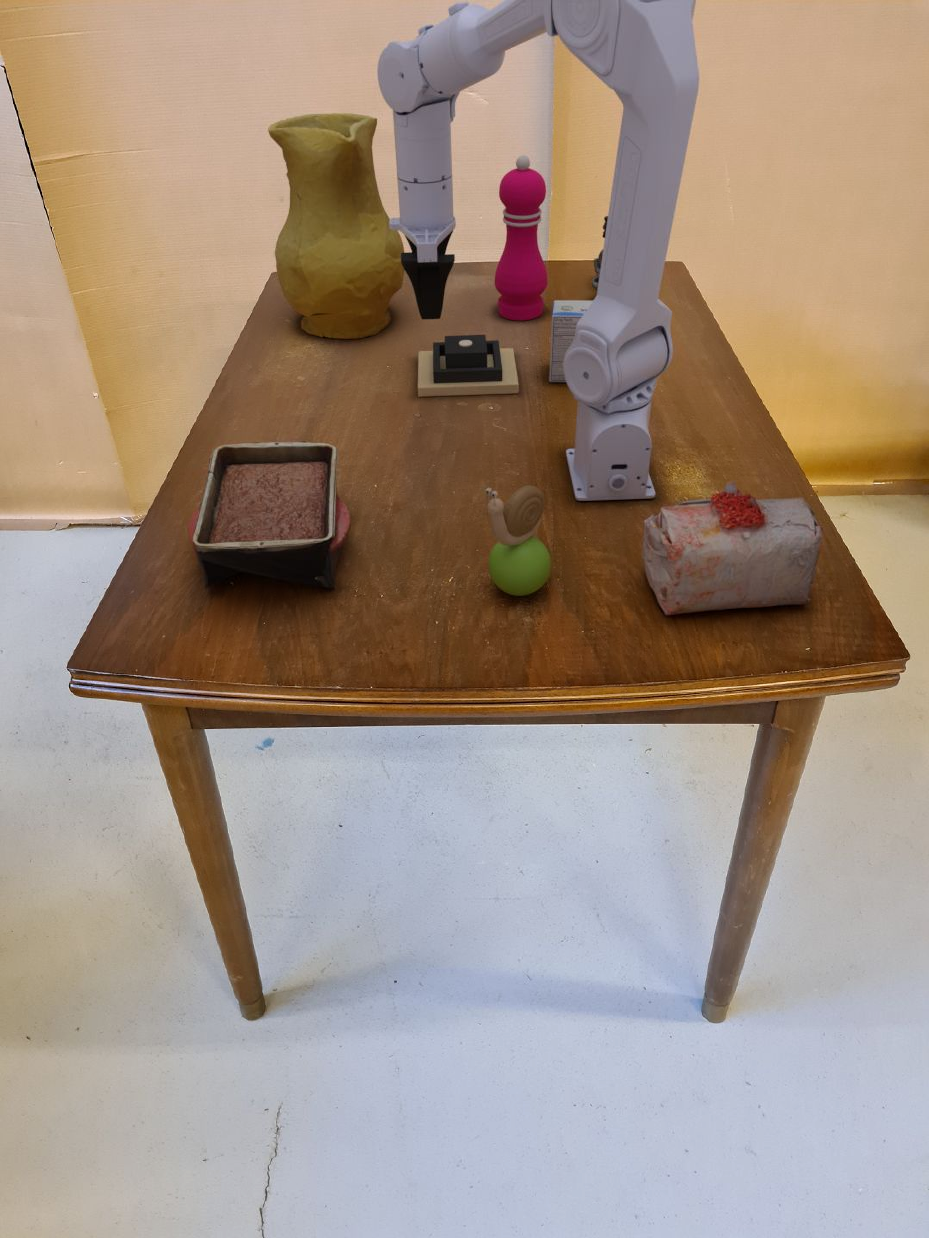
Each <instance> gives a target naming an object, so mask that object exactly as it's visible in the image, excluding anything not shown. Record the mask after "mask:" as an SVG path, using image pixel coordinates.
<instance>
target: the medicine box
mask: <svg viewBox="0 0 929 1238" xmlns="http://www.w3.org/2000/svg"><path fill="white" fill-rule="evenodd" d="M592 302H593V300H579V299H577V300H575V299H573V300H571V299H570V300H569V299H568V300H567V299H566V300H565V299H564V300H563V299H562V300H561V299H560V300H559V299H556V300H553V301H552V309H551V321H550V323H551V324H550V345H549V347H550V349H549V374H548V375H549V376H548V381H549V383H566V380H565V376H564V371H563V362H564V357H565V354H566V352H567V350H568V348H569V347H570V346H571V344H572V342H573V340H574V337H575V332H576V325H577V323H578V322H579V320H580V319H581V317H582V316H583V314H584V313H585V312H586V310H587V309H588V307H589V306H590V305H591V303H592Z"/></svg>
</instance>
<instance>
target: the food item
mask: <svg viewBox="0 0 929 1238" xmlns="http://www.w3.org/2000/svg"><path fill="white" fill-rule="evenodd" d="M643 521H644V528H643V529H644V532H643V540H642V551H641V558H642V560H643V567H644V571H645V575H646V578H647V582H648V584H649V587H650V588H651V589H652V591H653V593H654V595H655V597H656V600H657V603H658V604H659V606H660V608H661V609H662V611H663V613H664V614H665V616H675V615H680V614H691V613H699V612H708V611H722V610H723V611H724V610H728V609H729V610H730V609H731V610H733V609H753V608H766V607H775V606H791V605H805V604H807V605H809V603H810V602H811V600H812V599H811V598H810V592H811V589H812V588H813V585H814V582H815V577H816V574H817V568H816V566H817V565H818V562H819V558H820V555H821V550H820V547H821V540H822V536H823V530H824V528H823V527H822V526H821V525H820V524H819V523H818V520H817V519H816V515H815V512H814V510H813V509H812V508H811V506H810V505H809V503H808V502H807V501H806V500H805V499H804V497H801V496H800V497H788V498H764V499H756V496H751V493H746V494H743V493H742V492H741V490H740V489H738V488H737V484H736V483H735V482H734V481H733V480H731V481H730V482H729V483H727V484H726V485H725V488H724V489H722V490H720V492H718V493H713V494H712V496H711V498H699V499H698V498H697V499H691V500H684V501H681V502H679V503H677V504H675V505H670V506H662V507H661V508H660V512H659V514H657V515H654V514H651V515H650V516H649V517H648V518H646V519H644V520H643Z"/></svg>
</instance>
